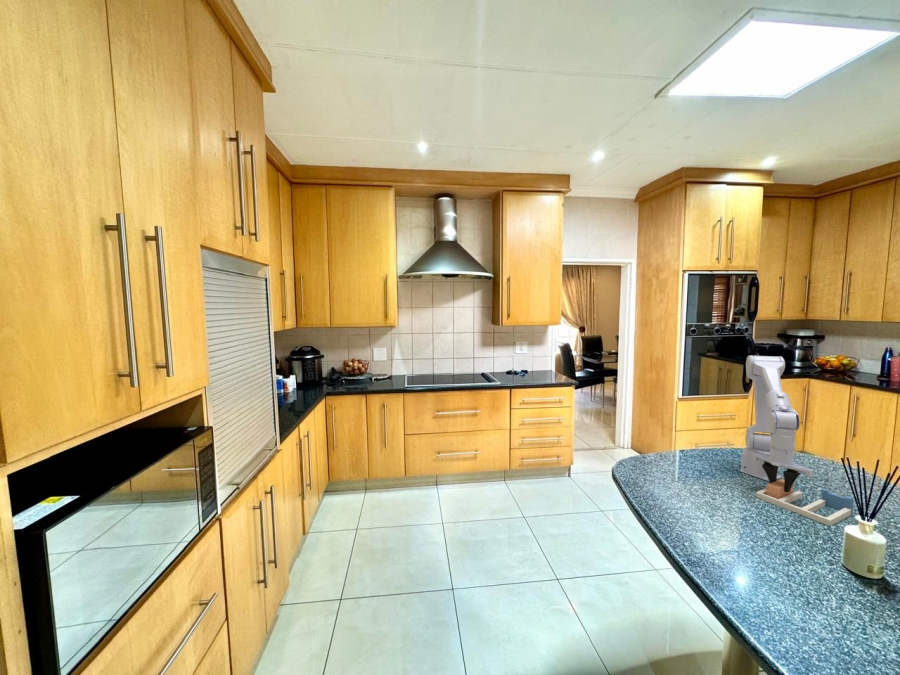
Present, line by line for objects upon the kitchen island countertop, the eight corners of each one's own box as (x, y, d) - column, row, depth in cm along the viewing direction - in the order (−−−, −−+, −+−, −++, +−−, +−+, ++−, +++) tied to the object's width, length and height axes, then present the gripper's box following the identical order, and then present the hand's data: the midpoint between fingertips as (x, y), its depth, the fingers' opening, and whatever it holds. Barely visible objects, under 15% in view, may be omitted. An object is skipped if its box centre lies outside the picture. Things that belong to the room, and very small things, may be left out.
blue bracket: (820, 504, 109) (821, 489, 109) (822, 502, 110) (823, 488, 110) (849, 514, 103) (850, 499, 103) (852, 513, 104) (853, 497, 104)
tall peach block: (766, 498, 113) (767, 484, 113) (781, 491, 117) (781, 478, 117) (778, 502, 111) (778, 488, 110) (792, 496, 114) (793, 482, 114)
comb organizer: (755, 496, 114) (755, 492, 114) (776, 488, 119) (776, 483, 119) (830, 526, 98) (830, 520, 98) (850, 514, 103) (851, 509, 103)
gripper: (748, 442, 118) (746, 481, 119) (806, 458, 104) (803, 502, 105) (760, 439, 120) (758, 477, 121) (817, 454, 107) (815, 497, 108)
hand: (780, 488), depth 114 cm, fingers closed on tall peach block, 3 cm apart
